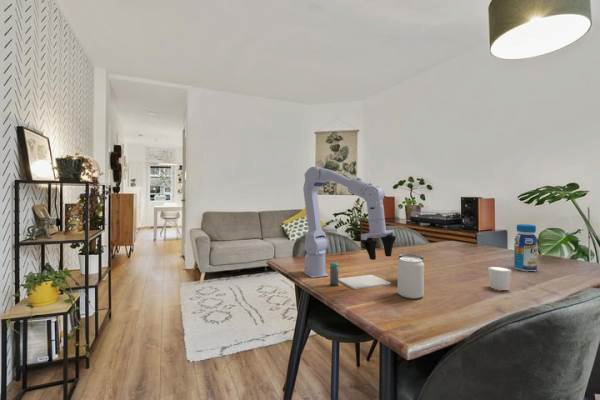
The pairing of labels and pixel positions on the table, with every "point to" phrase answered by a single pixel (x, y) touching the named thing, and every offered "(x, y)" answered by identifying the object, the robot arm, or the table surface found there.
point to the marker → (334, 274)
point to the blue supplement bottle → (525, 248)
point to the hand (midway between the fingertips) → (380, 257)
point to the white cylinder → (499, 278)
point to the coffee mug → (411, 256)
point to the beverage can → (411, 277)
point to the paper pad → (363, 281)
